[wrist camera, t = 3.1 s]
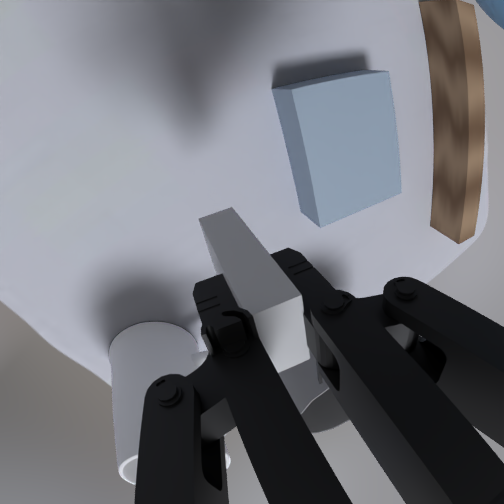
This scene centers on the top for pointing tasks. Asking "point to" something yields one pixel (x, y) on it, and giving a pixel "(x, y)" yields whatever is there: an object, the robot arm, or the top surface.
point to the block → (341, 142)
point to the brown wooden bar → (455, 115)
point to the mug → (145, 380)
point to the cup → (313, 397)
